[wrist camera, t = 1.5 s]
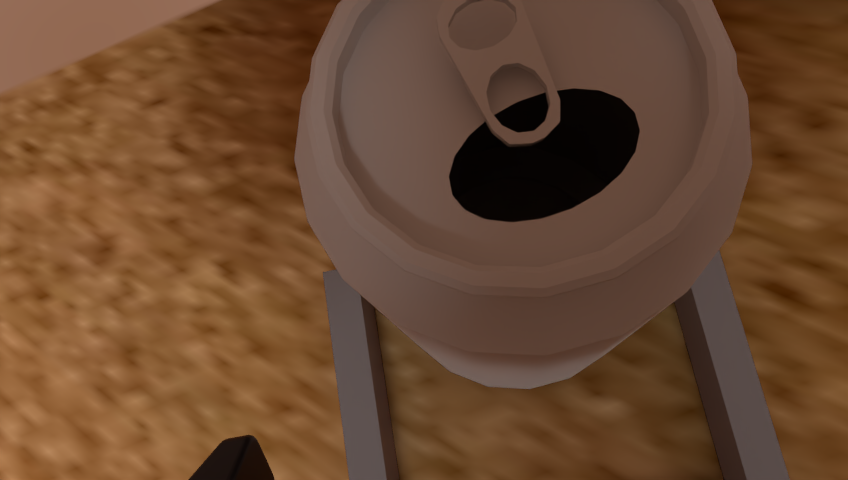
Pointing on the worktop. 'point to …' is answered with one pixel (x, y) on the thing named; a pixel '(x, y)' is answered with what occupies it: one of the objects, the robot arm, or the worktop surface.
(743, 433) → the guide rails
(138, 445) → the worktop surface
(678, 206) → the can
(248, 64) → the worktop surface
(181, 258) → the worktop surface
